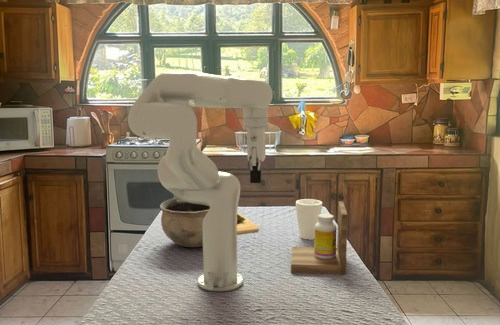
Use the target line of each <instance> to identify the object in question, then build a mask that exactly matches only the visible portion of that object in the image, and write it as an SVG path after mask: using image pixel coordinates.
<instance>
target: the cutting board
mask: <svg viewBox="0 0 500 325" xmlns="http://www.w3.org/2000/svg"><path fill="white" fill-rule="evenodd" d="M259 228H260V227H259V226H258V225H256V224H255V223H254V222H252V221H251V220H249V219H248V218H246V217H245V216H244V215H242V214H240V213H239V212H238V211H237V235H239V234H248V233H257V232H259V231H260V230H259Z"/></svg>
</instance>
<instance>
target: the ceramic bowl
mask: <svg viewBox="0 0 500 325" xmlns="http://www.w3.org/2000/svg"><path fill="white" fill-rule="evenodd" d="M159 207H160V210H161V212H162V214H161V220H160V222H161V229H162V230H163V233H164V234H165V235H166V237H167V238H168V239H169V240H171V241H172V242H173V243H174V244H176V245H178V246H181V247H185V248H200V247H201V248H203V230H202V223H203V219H204V217H205V215H206V214H207V212H208V211H209V209H210V206H207V205H201V204H194V203H188V202H185V201H183V200H182V199H180V198H179V197H175V198H169V199H168V200H165V201H162V203H160V205H159Z"/></svg>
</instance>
